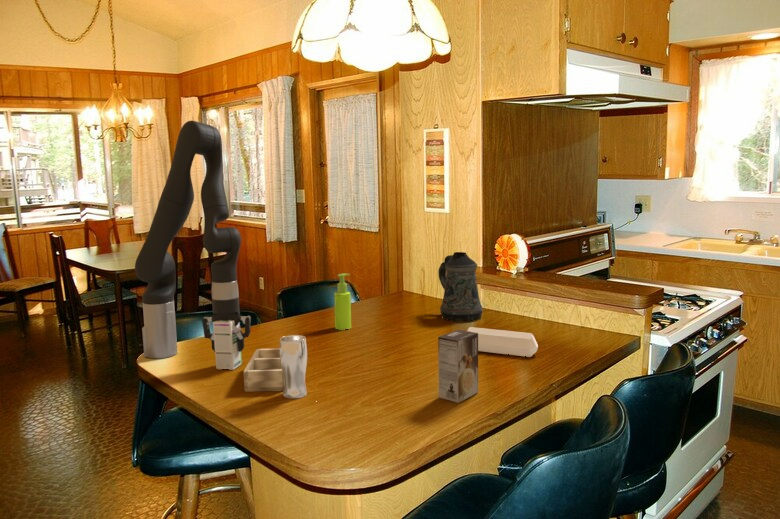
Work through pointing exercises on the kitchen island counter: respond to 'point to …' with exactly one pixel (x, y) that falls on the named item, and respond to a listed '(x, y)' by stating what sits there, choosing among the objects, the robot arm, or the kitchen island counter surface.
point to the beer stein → (459, 288)
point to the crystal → (505, 342)
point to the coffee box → (458, 365)
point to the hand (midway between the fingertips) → (228, 351)
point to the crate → (264, 371)
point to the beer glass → (293, 365)
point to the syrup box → (226, 345)
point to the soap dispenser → (342, 305)
